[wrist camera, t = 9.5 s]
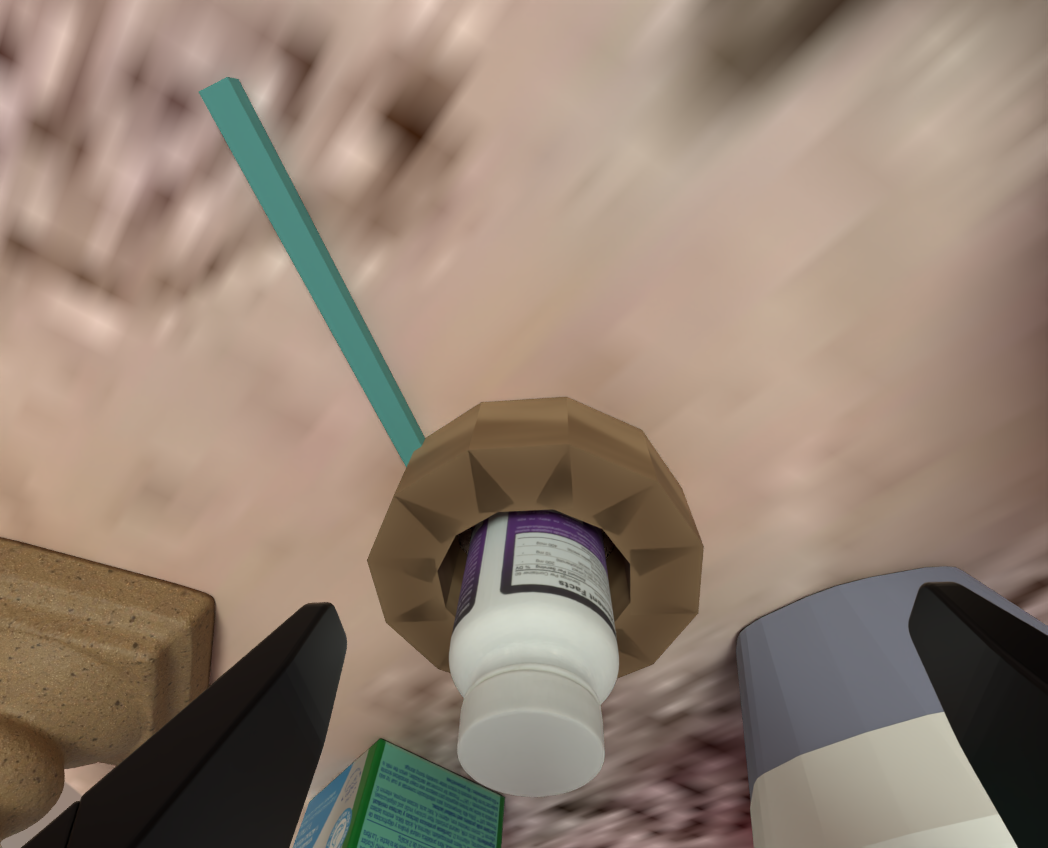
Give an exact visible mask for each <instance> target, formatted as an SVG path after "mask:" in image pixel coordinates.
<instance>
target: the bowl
mask: <svg viewBox="0 0 1048 848" xmlns="http://www.w3.org/2000/svg"><path fill="white" fill-rule="evenodd" d="M947 581H951V582H956V583H959V584H961V585H963V586H965V587H966V588H968V589H970V590H971V591H973V592H975V593H977V594H978V595H980V596H982V597H983V598H985V599H987V600H988V601H990V602H992V603H994V604H995V605H997V606H999V607H1000V608H1002V609H1004V610H1006V611H1007V612H1009V613H1011V614H1012V615H1014V616H1016V617H1018V618H1019V619H1021V620H1023V621H1024V622H1026V623H1028V624H1029V625H1031V626H1033V627H1035V628H1036V629H1038V630H1040V631H1041V632H1043V633H1045V634H1047V635H1048V626H1047V625H1045V624H1044V623H1042V622H1041V621H1039V620H1038V619H1036V618H1035V617H1033V616H1031V615H1030V614H1028V613H1027V612H1025V611H1024V610H1022V609H1021V608H1019V607H1018V606H1016V605H1015V604H1013V603H1011V602H1010V601H1008V600H1007V599H1005V598H1004V597H1002V596H1001V595H999V594H998V593H996V592H995V591H993V590H991V589H990V588H988V587H987V586H985V585H984V584H982V583H981V582H979V581H978V580H976V579H975V578H973V577H971V576H970V575H968V574H967V573H965V572H964V571H962V570H960V569H958V568H956V567H926V568H920V569H914V570H909V571H903V572H898V573H892V574H887V575H881V576H876V577H870V578H865V579H861V580H858V581H854V582H850V583H846V584H842V585H838V586H835V587H832V588H829V589H827V590H824V591H821V592H818V593H816V594H813V595H810V596H807V597H805V598H803V599H801V600H799V601H797V602H794V603H792V604H790V605H788V606H786V607H783V608H781V609H779V610H777V611H775V612H773V613H770V614H768V615H766V616H764V617H762V618H760V619H758V620H757V621H755V622H754V623H752V624H750V625H749V626H747V627H746V628H745V629H744V630H743V631H742V632H741V633H740V634H739V637H738V639H737V647H736V657H737V667H738V678H739V688H740V698H741V708H742V719H743V729H744V739H745V749H746V760H747V770H748V780H749V790H750V801H751V805H750V812H751V823H752V833H753V843H754V848H1018V847H1017V845H1016V843H1015V842H1014V840H1013V838H1012V836H1011V835H1010V833H1009V831H1008V830H1007V828H1006V826H1005V824H1004V823H1003V821H1002V819H1001V817H1000V816H999V814H998V812H997V810H996V809H995V807H994V805H993V803H992V802H991V800H990V798H989V796H988V795H987V793H986V791H985V789H984V788H983V786H982V784H981V782H980V781H979V779H978V777H977V775H976V774H975V772H974V770H973V768H972V767H971V765H970V763H969V761H968V759H967V758H966V756H965V754H964V752H963V750H962V748H961V747H960V745H959V743H958V741H957V739H956V736H955V734H954V732H953V730H952V728H951V726H950V724H949V722H948V719H947V717H946V715H945V713H944V711H943V708H942V706H941V704H940V702H939V699H938V697H937V695H936V693H935V691H934V688H933V686H932V684H931V682H930V680H929V677H928V675H927V673H926V671H925V668H924V666H923V664H922V662H921V660H920V657H919V655H918V653H917V651H916V648H915V646H914V644H913V642H912V640H911V637H910V634H909V629H908V621H909V617H910V614H911V611H912V608H913V605H914V602H915V599H916V596H917V593H918V589H919V587H920V586H921V585H922V584H924V583H926V582H947Z"/></svg>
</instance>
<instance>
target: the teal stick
mask: <svg viewBox="0 0 1048 848" xmlns="http://www.w3.org/2000/svg"><path fill="white" fill-rule="evenodd" d="M199 94H200V95H201V97H202V99H203V101H204V103H205V104H206V106H207V108H208V110H209V112H210V113H211V115H212V117H213V119H214V121H215V122H216V124H217V126H218V128H219V130H220V132H221V133H222V135H223V137H224V139H225V141H226V142H227V144H228V146H229V148H230V150H231V151H232V153H233V155H234V157H235V159H236V160H237V162H238V164H239V166H240V168H241V169H242V171H243V173H244V175H245V177H246V178H247V180H248V182H249V184H250V186H251V188H252V189H253V191H254V193H255V195H256V197H257V198H258V200H259V202H260V204H261V206H262V207H263V209H264V211H265V213H266V215H267V216H268V218H269V220H270V222H271V224H272V225H273V227H274V229H275V231H276V233H277V234H278V236H279V238H280V240H281V242H282V244H283V245H284V247H285V249H286V251H287V253H288V254H289V256H290V258H291V260H292V262H293V263H294V265H295V267H296V269H297V271H298V272H299V274H300V276H301V278H302V280H303V281H304V283H305V285H306V287H307V289H308V290H309V292H310V294H311V296H312V298H313V300H314V301H315V303H316V305H317V307H318V309H319V310H320V312H321V314H322V316H323V318H324V319H325V321H326V323H327V325H328V327H329V328H330V330H331V332H332V334H333V336H334V337H335V339H336V341H337V343H338V345H339V346H340V348H341V350H342V352H343V354H344V356H345V357H346V359H347V361H348V363H349V365H350V366H351V368H352V370H353V372H354V374H355V375H356V377H357V379H358V381H359V383H360V384H361V386H362V388H363V390H364V392H365V393H366V395H367V397H368V399H369V401H370V402H371V404H372V406H373V408H374V410H375V412H376V413H377V415H378V417H379V419H380V421H381V422H382V424H383V426H384V428H385V430H386V431H387V433H388V435H389V437H390V439H391V440H392V442H393V444H394V446H395V448H396V449H397V451H398V453H399V455H400V457H401V458H402V460H403V462H404V464H405V466H406V468H407V465H408V463H409V461H410V459H411V456H412V454H413V452H414V451H415V450H417V449H418V448H420V447H421V446H422V445H423V442H424V440H425V437H424V435H423V433H422V431H421V430H420V428H419V426H418V424H417V422H416V420H415V418H414V416H413V414H412V412H411V410H410V408H409V406H408V405H407V403H406V401H405V399H404V397H403V395H402V393H401V391H400V389H399V387H398V385H397V383H396V381H395V380H394V378H393V376H392V374H391V372H390V370H389V368H388V366H387V364H386V362H385V360H384V358H383V356H382V355H381V353H380V351H379V349H378V347H377V345H376V343H375V341H374V339H373V337H372V335H371V333H370V331H369V330H368V328H367V326H366V324H365V322H364V320H363V318H362V316H361V314H360V312H359V310H358V308H357V306H356V305H355V303H354V301H353V299H352V297H351V295H350V293H349V291H348V289H347V287H346V285H345V283H344V281H343V279H342V278H341V276H340V274H339V272H338V270H337V268H336V266H335V264H334V262H333V260H332V258H331V256H330V254H329V253H328V251H327V249H326V247H325V245H324V243H323V241H322V239H321V237H320V235H319V233H318V231H317V229H316V228H315V226H314V224H313V222H312V220H311V218H310V216H309V214H308V212H307V210H306V208H305V206H304V204H303V203H302V201H301V199H300V197H299V195H298V193H297V191H296V189H295V187H294V185H293V183H292V181H291V179H290V178H289V176H288V174H287V172H286V170H285V168H284V166H283V164H282V162H281V160H280V158H279V156H278V154H277V153H276V151H275V149H274V147H273V145H272V143H271V141H270V139H269V137H268V135H267V133H266V131H265V129H264V127H263V126H262V124H261V122H260V120H259V118H258V116H257V114H256V112H255V110H254V108H253V106H252V104H251V102H250V101H249V99H248V97H247V95H246V93H245V91H244V89H243V87H242V85H241V83H240V81H239V79H235V78H230V77H226V78H224V79H222V80H221V81H219V82H217V83H215V84H213V85H211V86H209V87H207V88H205V89H203V90H201V91H199Z"/></svg>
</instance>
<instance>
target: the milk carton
mask: <svg viewBox="0 0 1048 848" xmlns="http://www.w3.org/2000/svg"><path fill="white" fill-rule="evenodd" d="M504 803H505V797H503V796H501V795H499V794H497V793H495V792H493V791H491V790H488V789H486V788H484V787H482V786H480V785H478V784H476V783H474V782H471V781H469V780H467V779H465V778H463V777H461V776H459V775H457V774H455V773H452V772H450V771H448V770H446V769H444V768H442V767H440V766H438V765H436V764H433V763H431V762H429V761H427V760H425V759H423V758H421V757H419V756H416V755H414V754H412V753H410V752H408V751H406V750H404V749H402V748H400V747H397V746H395V745H393V744H391V743H389V742H387V741H385V740H383V739H379V740H378V741H377V742H376V743H375V744H374V745H372V746H371V747H370V748H369V749H368V750H367V751H366V752H365V753H364V754H362V755H361V756H360V757H359V758H358V759H357V760H356V761H355V762H353V763H352V764H351V765H350V766H349V767H348V768H347V769H346V770H344V771H343V772H342V773H341V774H340V775H339V776H338V777H337V778H336V779H334V780H333V781H332V782H331V783H330V784H329V785H328V786H327V787H325V788H324V789H323V790H322V791H321V792H320V793H319V794H318V795H317V796H315V797H314V798H313V799H312V800H311V801H310V802H309V805H308V807H307V810H306V813H305V816H304V818H303V821H302V824H301V826H300V829H299V832H298V835H297V837H296V840H295V843H294V845H293V848H501V844H502V831H503V817H504Z"/></svg>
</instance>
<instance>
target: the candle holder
mask: <svg viewBox="0 0 1048 848" xmlns="http://www.w3.org/2000/svg"><path fill="white" fill-rule="evenodd" d="M213 632H214V600H213V598H212V597H211V596H210V595H208V594H206V593H204V592H201V591H198V590H195V589H191V588H188V587H185V586H182V585H178V584H175V583H171V582H168V581H164V580H160V579H157V578H153V577H149V576H145V575H142V574H138V573H134V572H130V571H127V570H123V569H119V568H116V567H112V566H108V565H104V564H101V563H97V562H93V561H90V560H86V559H82V558H78V557H75V556H71V555H67V554H63V553H60V552H56V551H52V550H49V549H45V548H41V547H37V546H34V545H30V544H26V543H22V542H19V541H14V540H10V539H5V538H1V537H0V843H1V841H2V840H3V839H5V838H7V837H9V836H11V835H13V834H16V833H18V832H21V831H23V830H25V829H27V828H28V827H30V826H32V825H33V824H35V823H36V822H38V821H39V820H40V819H41V818H43V817H44V816H45V815H46V814H47V813H48V812H49V811H50V810H51V808H52V807H53V806H54V805H55V804H56V802H57V801H58V799H59V797H60V795H61V793H62V791H63V787H64V778H65V775H64V769H69V768H76V767H80V766H85V765H89V764H93V763H97V762H100V763H106V764H111V765H116V766H117V765H119V764H120V763H121V762H122V761H123V760H124V759H126V758H127V757H128V756H129V755H130V754H131V753H133V752H134V751H135V750H136V749H137V748H138V747H140V746H141V745H142V744H143V743H144V742H145V741H146V740H148V739H149V738H150V737H151V736H152V735H153V734H155V733H156V732H157V731H158V730H159V729H160V728H162V727H163V726H164V725H165V724H166V723H167V722H169V721H170V720H171V719H172V718H173V717H174V716H176V715H177V714H178V713H179V712H180V711H181V710H183V709H184V708H185V707H186V706H187V705H188V704H190V703H191V702H192V701H193V700H194V699H195V698H197V697H198V696H199V695H200V694H201V693H202V692H203V691H205V690H206V689H207V688H208V687H209V677H210V666H211V655H212V643H213ZM0 848H2V846H1V844H0Z"/></svg>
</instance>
